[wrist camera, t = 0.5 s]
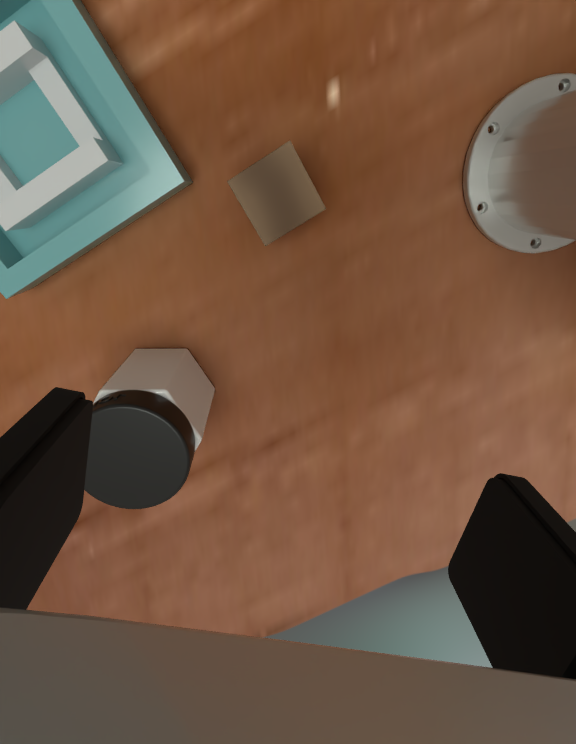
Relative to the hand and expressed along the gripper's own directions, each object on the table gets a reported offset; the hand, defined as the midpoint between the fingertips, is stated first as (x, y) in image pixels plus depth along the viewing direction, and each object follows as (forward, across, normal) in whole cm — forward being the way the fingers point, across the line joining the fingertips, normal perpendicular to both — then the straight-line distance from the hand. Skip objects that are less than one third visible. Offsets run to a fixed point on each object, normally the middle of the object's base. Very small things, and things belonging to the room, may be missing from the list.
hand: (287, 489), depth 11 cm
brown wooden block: (+30, +1, -6) cm, 30 cm away
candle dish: (+30, +19, -6) cm, 36 cm away
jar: (+30, +7, +12) cm, 33 cm away
